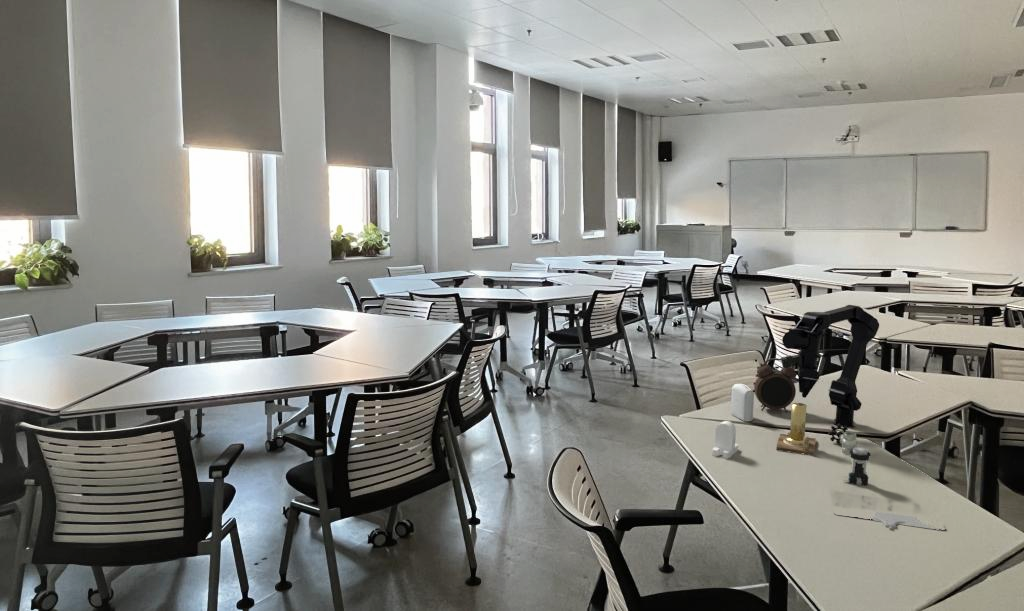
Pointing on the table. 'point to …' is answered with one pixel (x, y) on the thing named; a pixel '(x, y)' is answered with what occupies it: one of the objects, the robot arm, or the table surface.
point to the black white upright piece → (858, 466)
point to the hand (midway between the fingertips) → (802, 394)
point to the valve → (844, 438)
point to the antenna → (899, 520)
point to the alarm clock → (775, 386)
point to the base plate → (806, 448)
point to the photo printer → (742, 402)
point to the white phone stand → (725, 440)
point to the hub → (797, 424)
